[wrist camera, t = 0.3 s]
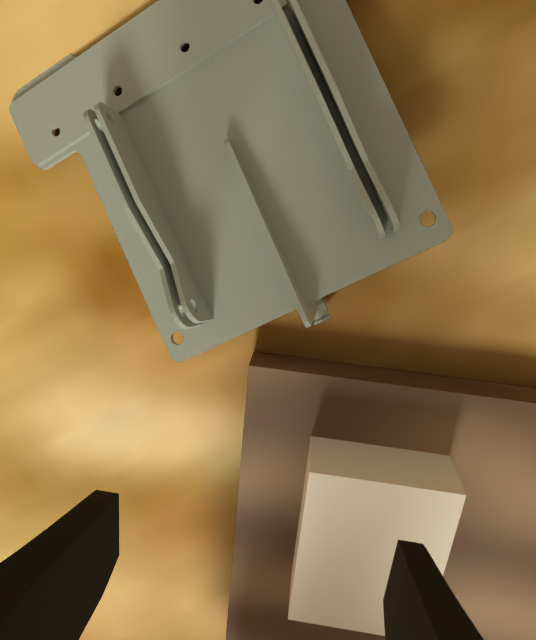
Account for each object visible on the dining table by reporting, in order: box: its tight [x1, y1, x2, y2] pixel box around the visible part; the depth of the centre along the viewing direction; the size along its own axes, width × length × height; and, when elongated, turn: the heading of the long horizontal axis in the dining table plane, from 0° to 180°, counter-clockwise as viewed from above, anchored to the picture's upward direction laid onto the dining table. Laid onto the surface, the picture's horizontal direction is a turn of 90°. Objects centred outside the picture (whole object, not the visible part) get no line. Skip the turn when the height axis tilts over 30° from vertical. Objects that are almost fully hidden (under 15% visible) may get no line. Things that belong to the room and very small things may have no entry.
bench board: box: [226, 352, 536, 640], centre depth 21 cm, size 17×24×4 cm
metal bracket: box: [9, 0, 452, 362], centre depth 18 cm, size 14×6×15 cm
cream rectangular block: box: [288, 436, 466, 636], centre depth 20 cm, size 8×6×2 cm
